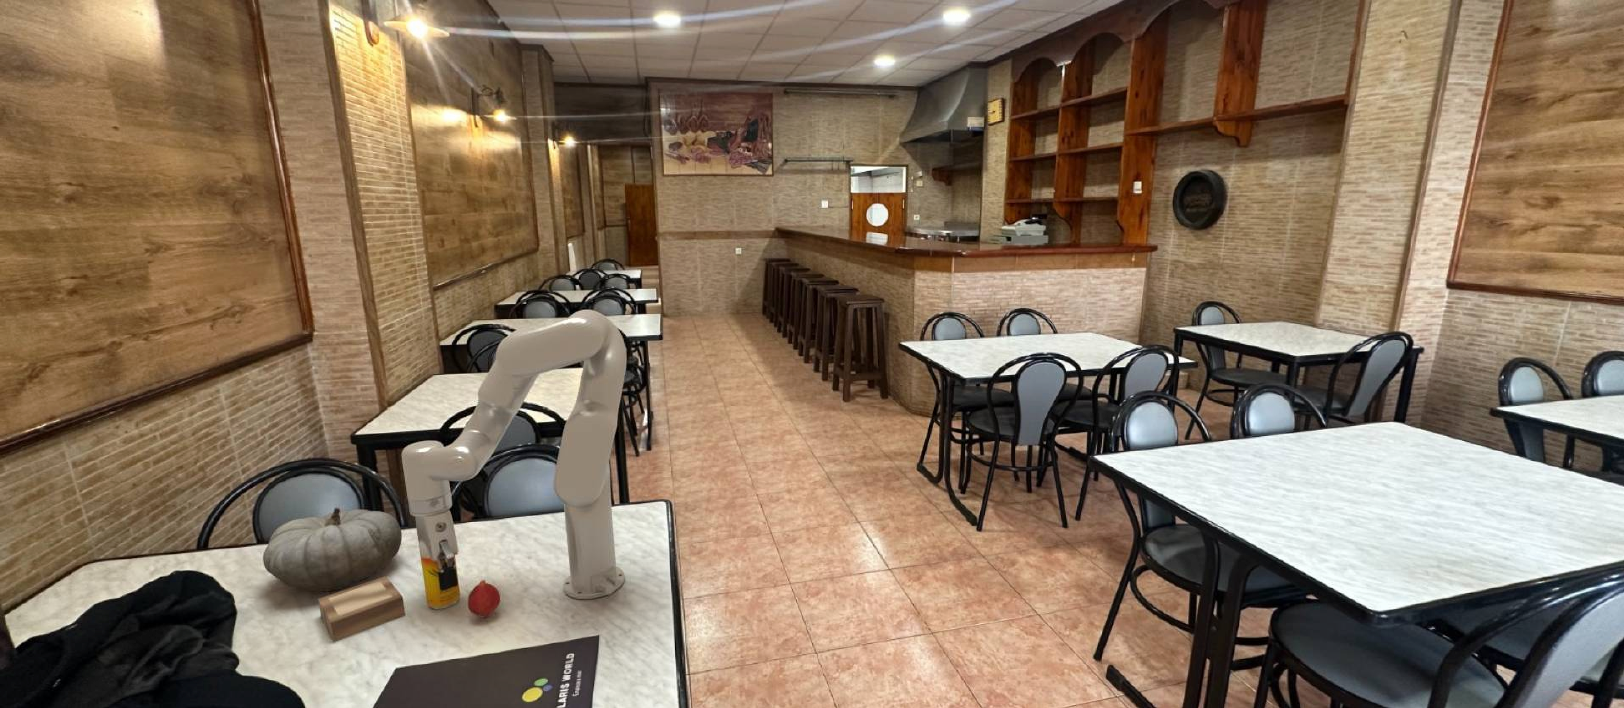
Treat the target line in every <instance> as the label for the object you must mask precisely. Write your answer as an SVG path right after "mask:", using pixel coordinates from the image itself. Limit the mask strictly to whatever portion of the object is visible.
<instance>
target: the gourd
mask: <svg viewBox="0 0 1624 708" xmlns="http://www.w3.org/2000/svg"><path fill="white" fill-rule="evenodd" d="M402 537H403V536H402V529H401V526H400V524H399V522H398V521H397V519H396V518H395V517H394V516H393V515H391V514H389V513H387V512H383V511H379V510H378V511H376V510H373V511H372V510H368V509H361V508H359V509H358V508H356V509H344V510H341V508H340V507H339V506H335V508H334V510H333V512H331V513H328V514H325V515H324V516H318V517H316V516H312V517H305V518H297V519H292V520H290V521H287V522H286V523H284V524H282V525H281V526H278V527H277V528H276V529H275V530H274V532H273V533H272V534H271V536H270V538H269V541H268V544H267V546H266V547H265V548H264V551H263V555H262V560H263V561H262V562H263V566H264V568H265V570H266V571H267V572H268V574H271V575H272V576H274V578H276V579H277V580H279V581H280V582H281V583H282V584H283V585H285V586H287V587H290V588H293V589H296V590H302V591H311V590H312V591H314V592H332V591H333V592H334V591H336V590H338V589H344V588H345V587H347V586H349V584H353V583H356V582H358V581H359V582H360V581H362V580H364V579H366V578H368V577H370V576H371V575H373V574H375V573H377V572H378V571H379V570H381V569H383V568H385V567H386V566H387V565H389V563H390V562H391V561H393V559H394V558H395V557H396V555H397V554H398V552H399V550H400V548H401V545H402V541H403V540H402Z"/></svg>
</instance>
